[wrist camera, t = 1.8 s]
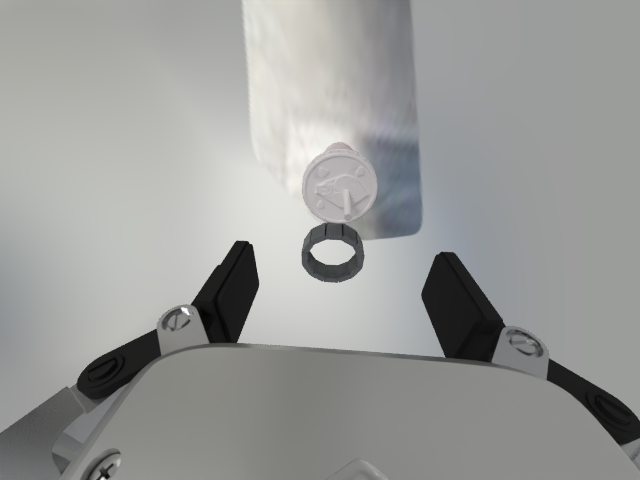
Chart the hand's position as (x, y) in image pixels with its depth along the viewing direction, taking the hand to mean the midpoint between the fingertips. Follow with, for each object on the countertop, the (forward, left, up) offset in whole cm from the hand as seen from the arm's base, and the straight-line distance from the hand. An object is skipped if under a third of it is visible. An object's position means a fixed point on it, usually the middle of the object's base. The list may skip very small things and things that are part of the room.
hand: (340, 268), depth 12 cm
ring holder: (+12, 0, -19) cm, 22 cm away
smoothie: (-1, 0, -19) cm, 19 cm away
